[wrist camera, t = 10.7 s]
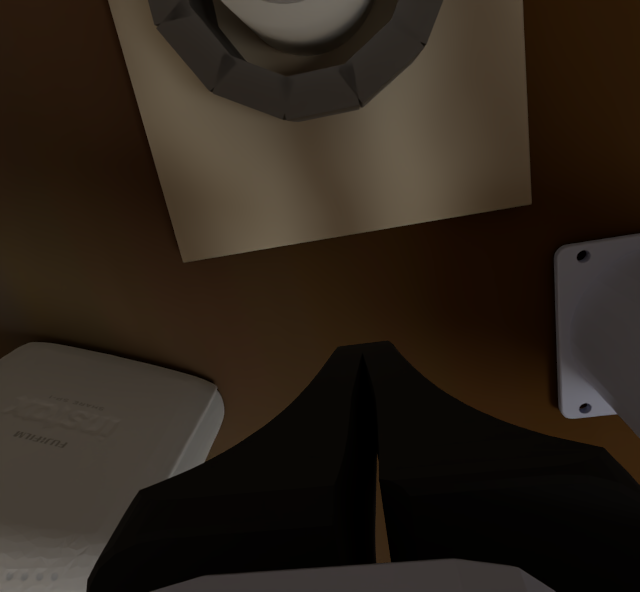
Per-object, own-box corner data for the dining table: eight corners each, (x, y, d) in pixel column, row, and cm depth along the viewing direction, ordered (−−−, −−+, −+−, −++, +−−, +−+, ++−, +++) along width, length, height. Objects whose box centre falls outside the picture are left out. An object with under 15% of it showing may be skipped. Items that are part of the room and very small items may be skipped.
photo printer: (234, 376, 22) (97, 641, 11) (221, 449, 24) (88, 751, 12) (25, 326, 22) (-338, 535, 11) (24, 401, 24) (-296, 657, 12)
